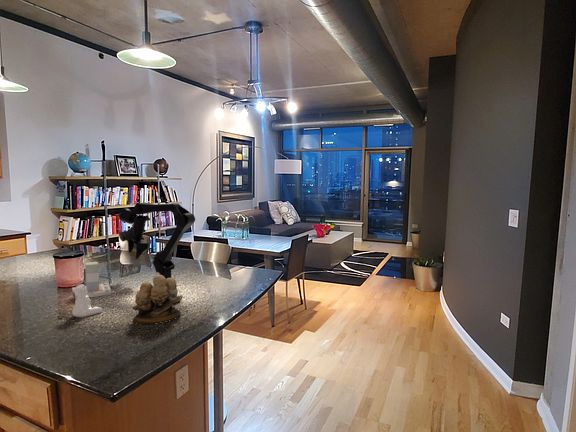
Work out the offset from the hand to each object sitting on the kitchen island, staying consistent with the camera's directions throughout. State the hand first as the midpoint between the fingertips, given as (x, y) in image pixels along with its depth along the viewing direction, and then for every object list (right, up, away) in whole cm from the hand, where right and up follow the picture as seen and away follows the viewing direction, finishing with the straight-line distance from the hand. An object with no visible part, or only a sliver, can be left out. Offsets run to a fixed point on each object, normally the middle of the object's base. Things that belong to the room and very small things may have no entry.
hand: (133, 255), depth 181 cm
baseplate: (-9, -14, -20) cm, 27 cm away
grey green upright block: (-9, -13, -20) cm, 26 cm away
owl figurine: (+31, -18, -48) cm, 60 cm away
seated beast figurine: (+2, -18, -46) cm, 49 cm away
